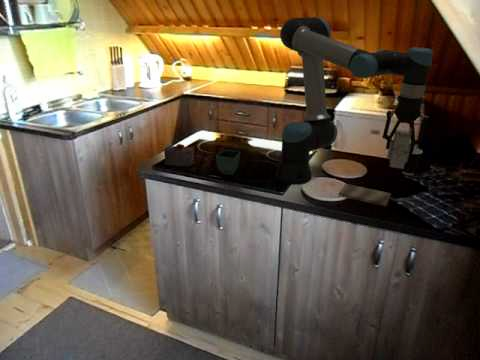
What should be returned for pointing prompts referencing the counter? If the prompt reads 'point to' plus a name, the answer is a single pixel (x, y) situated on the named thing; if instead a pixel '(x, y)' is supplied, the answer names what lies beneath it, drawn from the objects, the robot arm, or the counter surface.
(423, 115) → the robot arm
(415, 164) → the dixie cup
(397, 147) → the ink cartridge box
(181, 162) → the food item
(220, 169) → the flower pot
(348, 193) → the birch board
